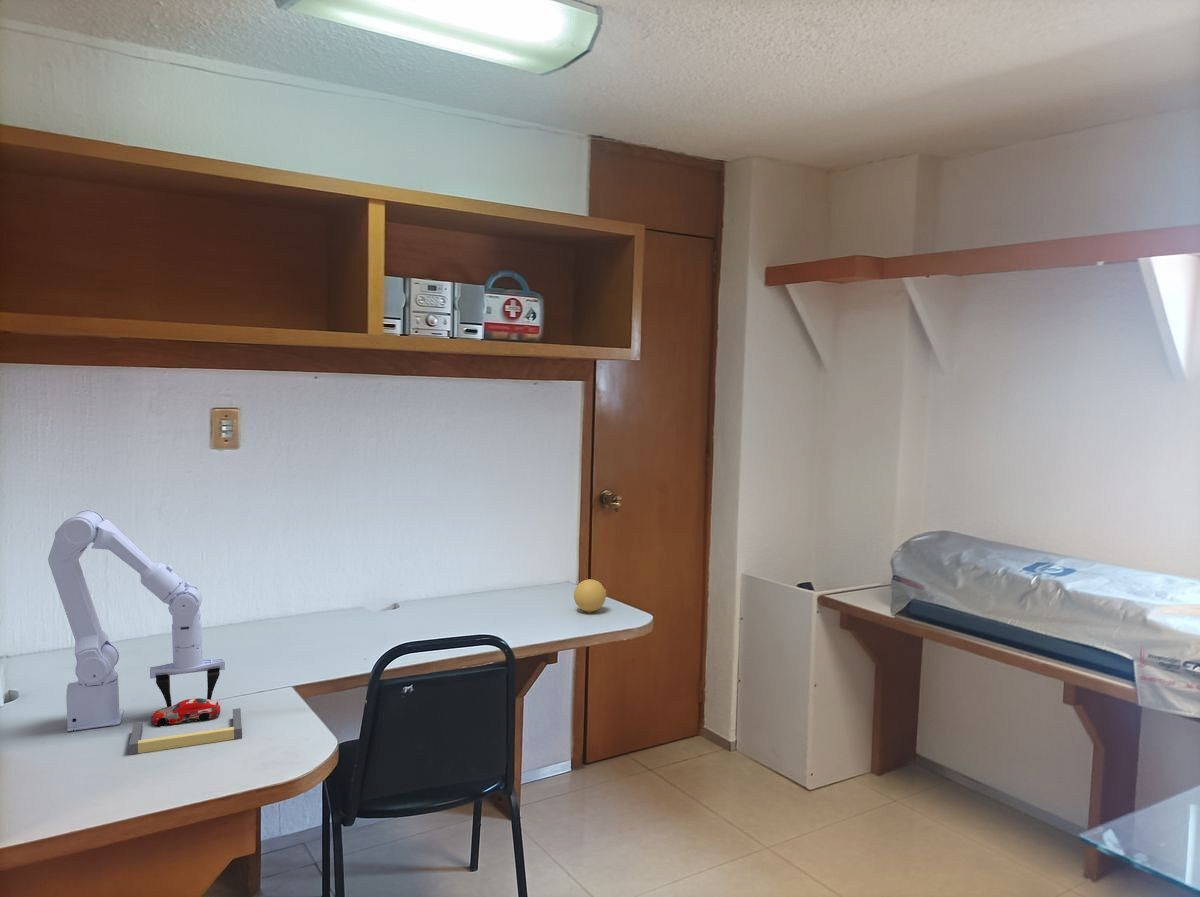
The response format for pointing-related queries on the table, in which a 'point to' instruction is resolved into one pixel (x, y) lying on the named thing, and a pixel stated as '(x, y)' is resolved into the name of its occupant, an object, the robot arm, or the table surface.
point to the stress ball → (589, 595)
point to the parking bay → (184, 737)
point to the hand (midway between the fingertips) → (189, 705)
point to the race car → (187, 712)
